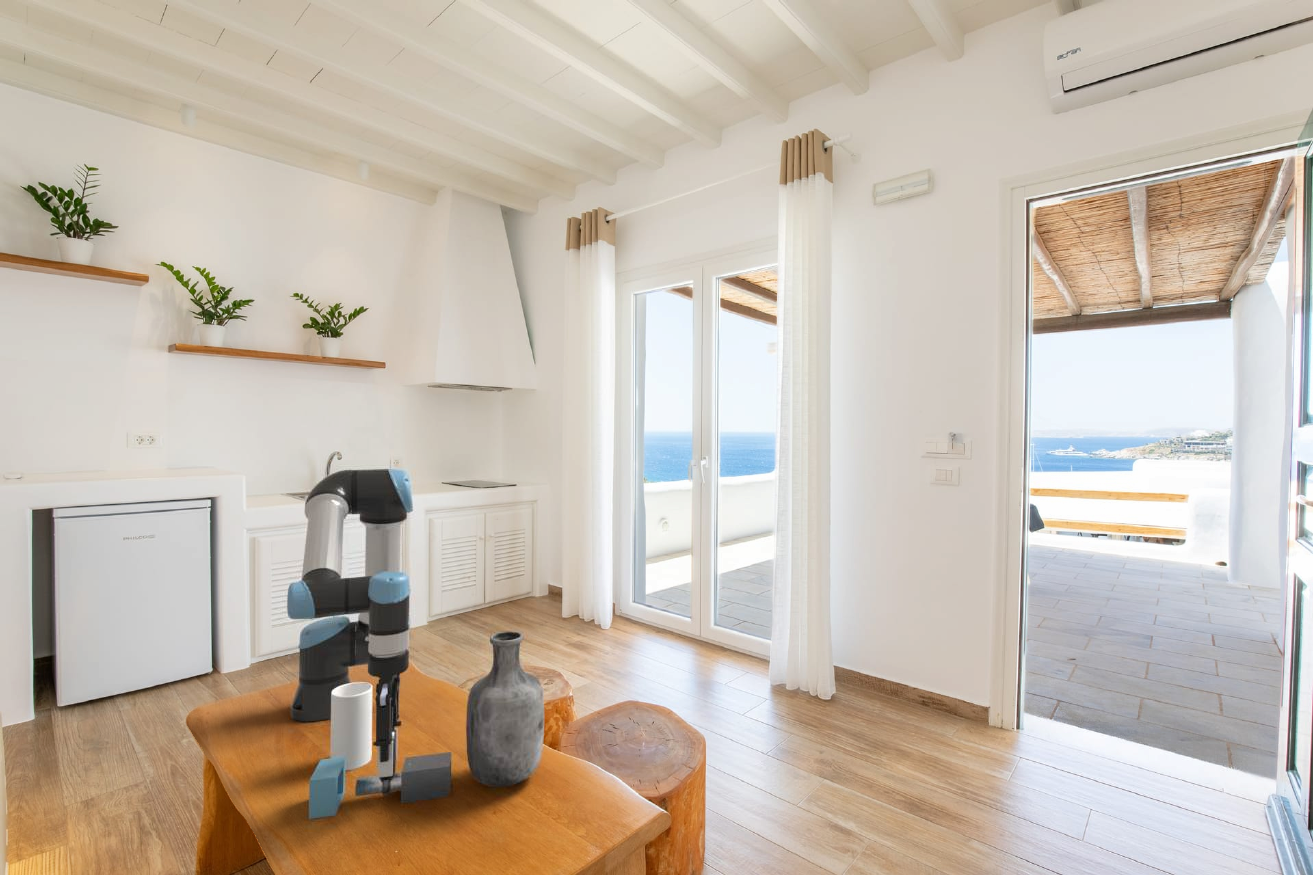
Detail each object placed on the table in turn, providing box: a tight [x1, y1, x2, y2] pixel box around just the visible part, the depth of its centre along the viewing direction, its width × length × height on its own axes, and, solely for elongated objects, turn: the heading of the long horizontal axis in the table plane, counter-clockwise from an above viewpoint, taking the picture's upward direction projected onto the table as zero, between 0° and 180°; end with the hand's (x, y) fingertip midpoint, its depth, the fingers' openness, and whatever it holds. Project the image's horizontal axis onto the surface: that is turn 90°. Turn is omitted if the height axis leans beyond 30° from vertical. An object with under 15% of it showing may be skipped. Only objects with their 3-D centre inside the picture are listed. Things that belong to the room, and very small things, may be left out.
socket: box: [308, 757, 346, 820], centre depth 118 cm, size 4×8×7 cm, turn 15°
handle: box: [354, 728, 402, 797], centre depth 122 cm, size 17×4×12 cm, turn 105°
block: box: [400, 751, 452, 804], centre depth 123 cm, size 9×6×6 cm, turn 105°
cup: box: [329, 681, 373, 772], centre depth 135 cm, size 8×8×16 cm
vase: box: [465, 631, 545, 788], centre depth 128 cm, size 16×16×30 cm
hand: (387, 768), depth 121 cm, fingers open, 5 cm apart
